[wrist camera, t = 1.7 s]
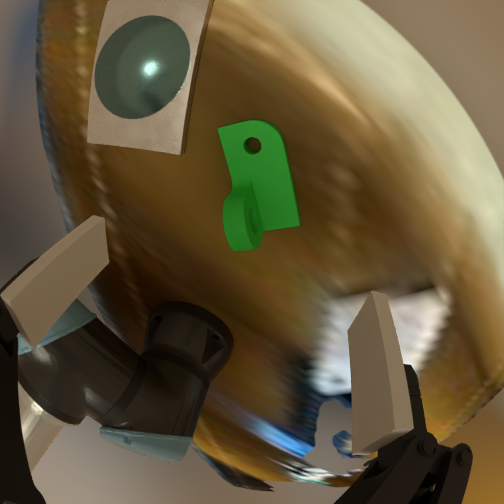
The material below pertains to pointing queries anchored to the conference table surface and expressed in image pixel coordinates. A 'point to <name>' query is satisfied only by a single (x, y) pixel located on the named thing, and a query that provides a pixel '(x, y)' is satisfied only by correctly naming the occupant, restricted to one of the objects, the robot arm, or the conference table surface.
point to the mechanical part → (257, 184)
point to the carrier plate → (146, 73)
